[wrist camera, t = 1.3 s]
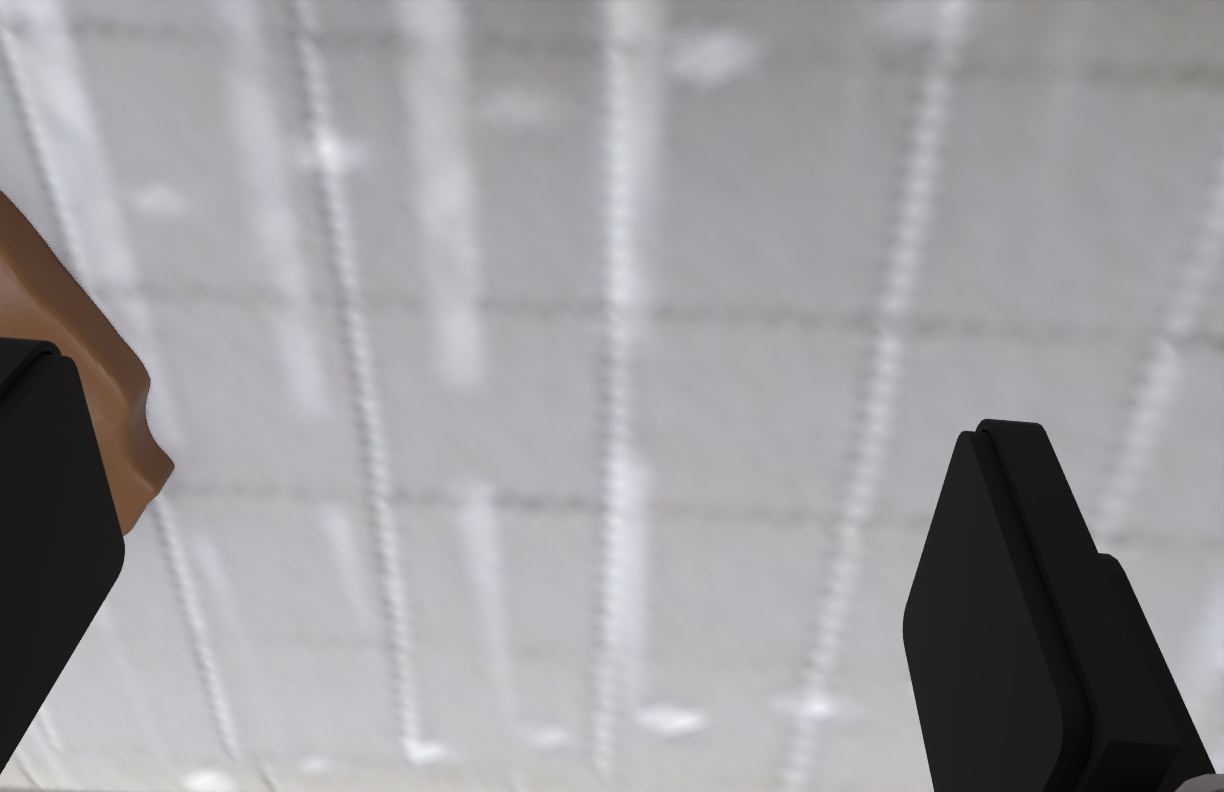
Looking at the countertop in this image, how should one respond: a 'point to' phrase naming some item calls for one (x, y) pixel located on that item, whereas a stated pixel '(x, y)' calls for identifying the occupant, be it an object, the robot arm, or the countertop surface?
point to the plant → (83, 360)
